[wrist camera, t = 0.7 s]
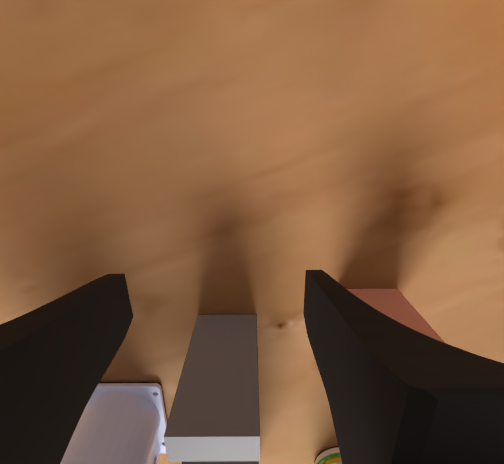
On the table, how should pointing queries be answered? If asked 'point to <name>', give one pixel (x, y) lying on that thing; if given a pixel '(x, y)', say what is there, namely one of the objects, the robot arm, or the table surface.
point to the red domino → (396, 308)
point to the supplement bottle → (329, 457)
